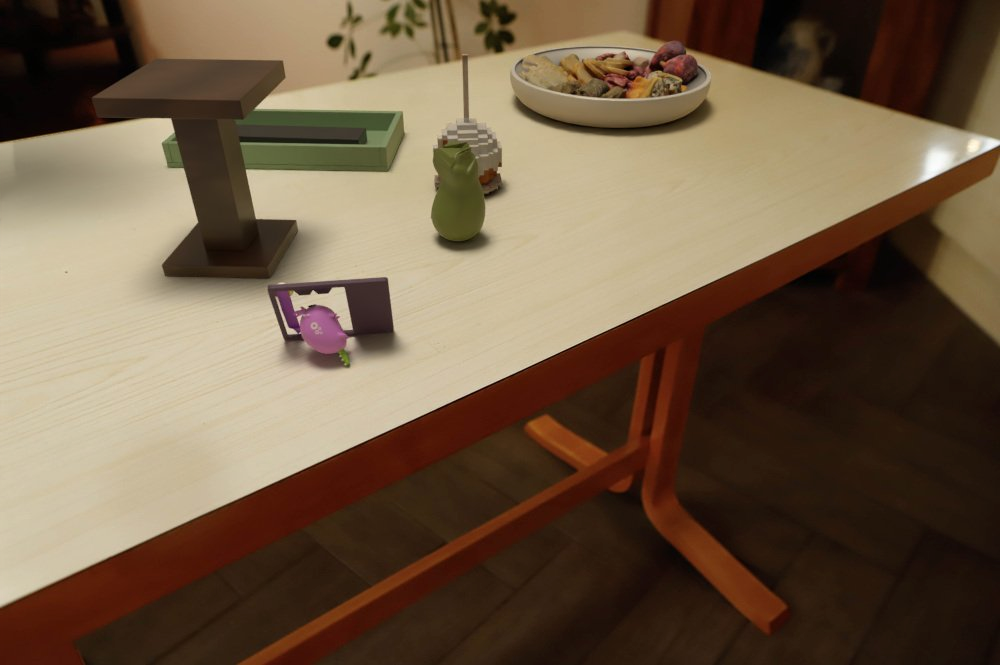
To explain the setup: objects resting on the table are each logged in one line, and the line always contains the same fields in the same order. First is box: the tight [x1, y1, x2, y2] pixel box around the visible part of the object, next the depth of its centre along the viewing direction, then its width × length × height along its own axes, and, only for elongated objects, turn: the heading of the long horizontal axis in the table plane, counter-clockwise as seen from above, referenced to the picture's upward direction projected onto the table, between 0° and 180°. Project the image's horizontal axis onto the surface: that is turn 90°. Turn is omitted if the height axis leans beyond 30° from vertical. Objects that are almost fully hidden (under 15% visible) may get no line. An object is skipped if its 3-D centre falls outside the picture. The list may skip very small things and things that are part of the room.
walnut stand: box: [91, 58, 299, 279], centre depth 67 cm, size 12×12×17 cm
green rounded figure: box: [430, 141, 486, 242], centre depth 72 cm, size 6×5×10 cm
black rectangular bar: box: [236, 124, 367, 145], centre depth 94 cm, size 20×4×2 cm, turn 86°
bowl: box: [509, 40, 712, 129], centre depth 109 cm, size 30×30×8 cm
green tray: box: [161, 108, 405, 172], centre depth 94 cm, size 28×14×3 cm, turn 88°
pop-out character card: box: [267, 276, 395, 366], centre depth 56 cm, size 7×5×9 cm
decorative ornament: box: [432, 53, 503, 195], centre depth 81 cm, size 8×8×15 cm
